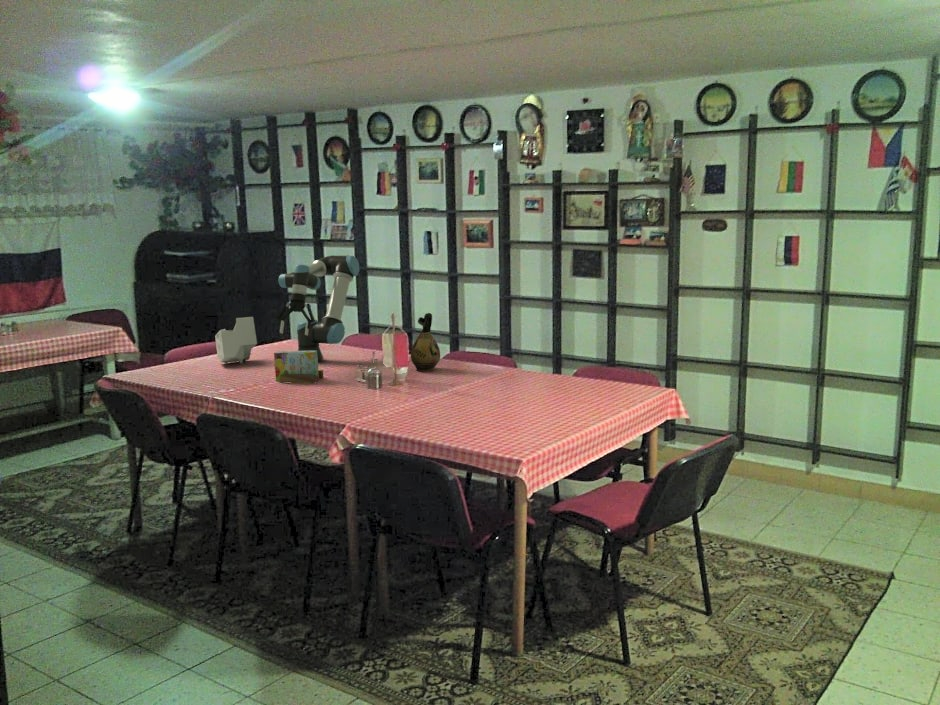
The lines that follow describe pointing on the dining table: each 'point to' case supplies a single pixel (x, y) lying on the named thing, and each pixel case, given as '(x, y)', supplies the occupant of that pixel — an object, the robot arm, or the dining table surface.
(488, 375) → the dining table surface
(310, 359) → the snack box
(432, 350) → the ceramic jug
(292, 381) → the walnut chute
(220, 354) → the grey stepped block
